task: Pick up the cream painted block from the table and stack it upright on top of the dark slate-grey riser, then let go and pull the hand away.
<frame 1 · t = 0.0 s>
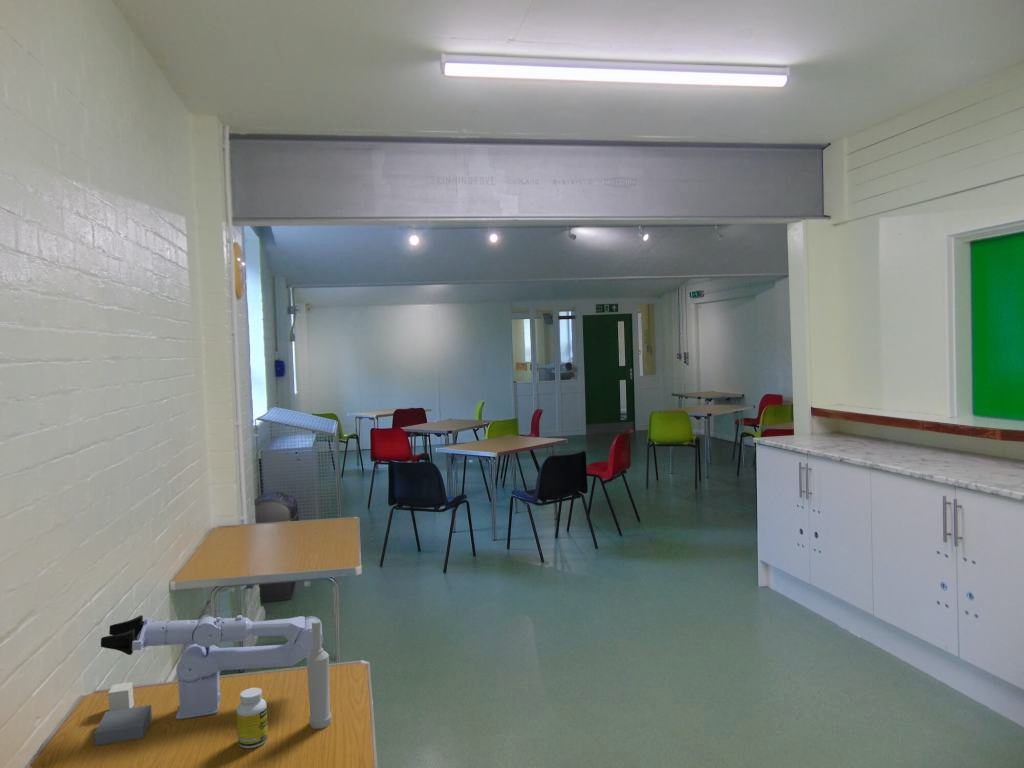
hand: (105, 636, 172), 22 cm above the table, tool horizontal, fingers open, 7 cm apart
cream block: (121, 710, 180), on the table
riser: (124, 730, 170), on the table
pill bottle: (253, 742, 164), on the table
bottle: (320, 724, 171), on the table
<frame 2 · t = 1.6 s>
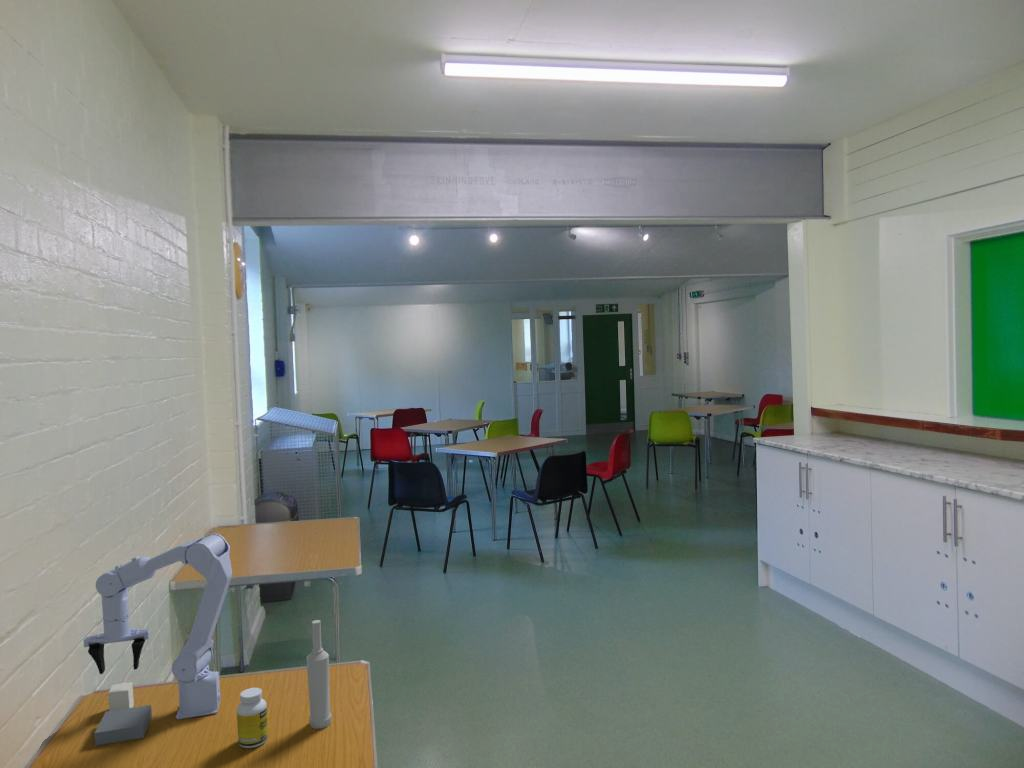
hand: (119, 670, 179), 10 cm above the table, tool pointing down, fingers open, 7 cm apart
nothing on the table moved.
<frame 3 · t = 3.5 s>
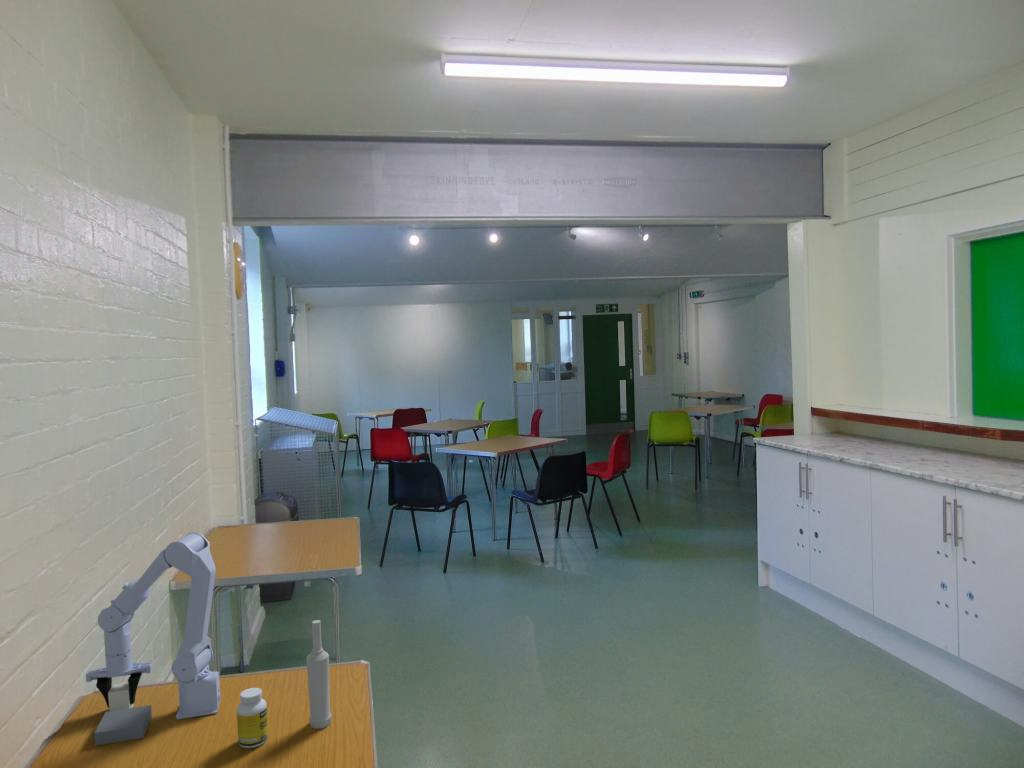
hand: (121, 704, 180), 2 cm above the table, tool pointing down, fingers closed on cream block, 4 cm apart
cream block: (121, 710, 180), on the table, touching gripper
everything else where it was.
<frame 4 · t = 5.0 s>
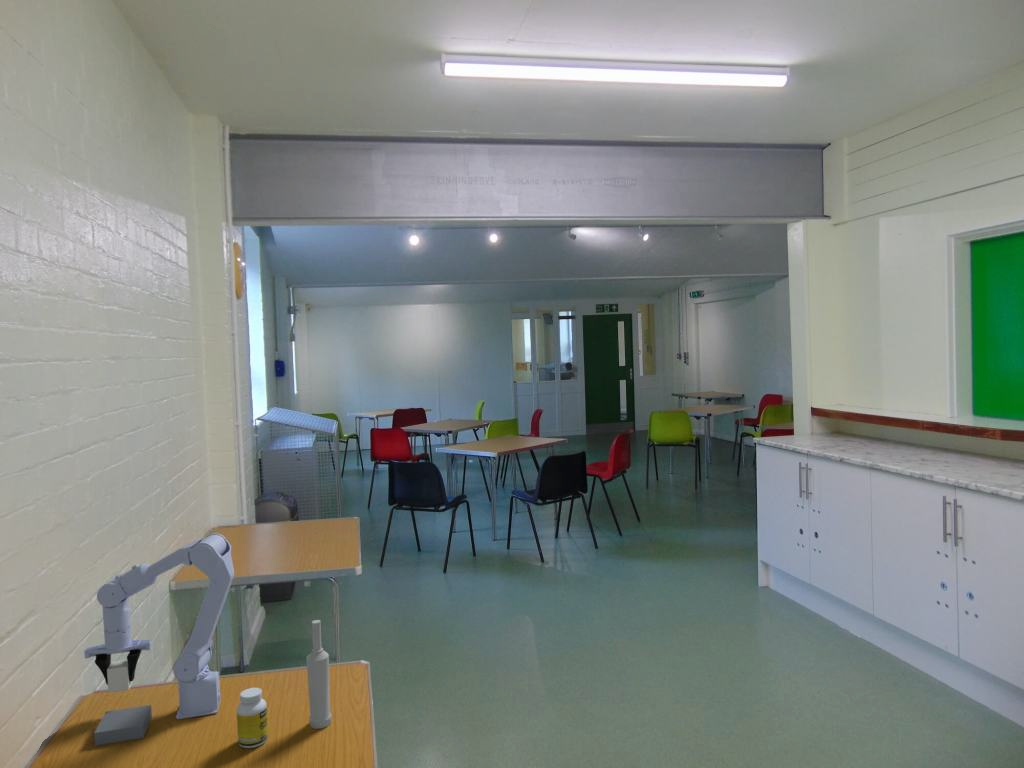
hand: (120, 681, 177), 8 cm above the table, tool pointing down, fingers closed on cream block, 4 cm apart
cream block: (121, 687, 178), point 7 cm above the table, touching gripper
everything else where it was.
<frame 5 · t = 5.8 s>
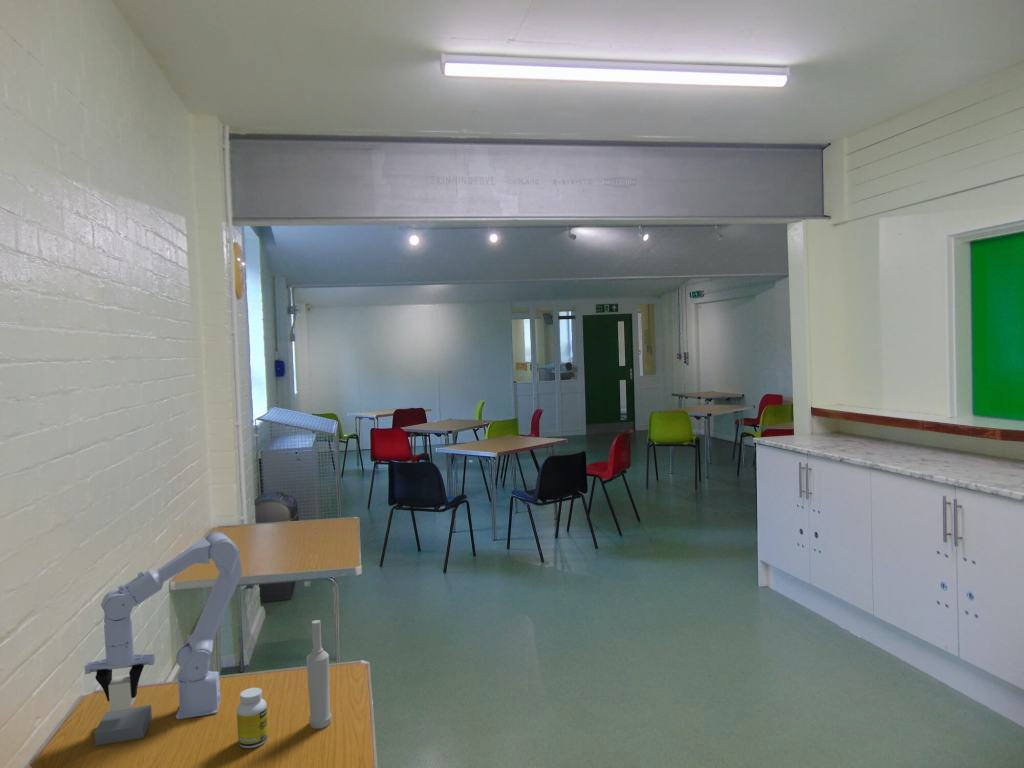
hand: (122, 697, 169), 8 cm above the table, tool pointing down, fingers closed on cream block, 4 cm apart
cream block: (122, 704, 170), point 6 cm above the table, touching gripper
everything else where it was.
when the fingers open (6 cm above the table, at t = 6.6 s): cream block drops 1 cm, resting on riser.
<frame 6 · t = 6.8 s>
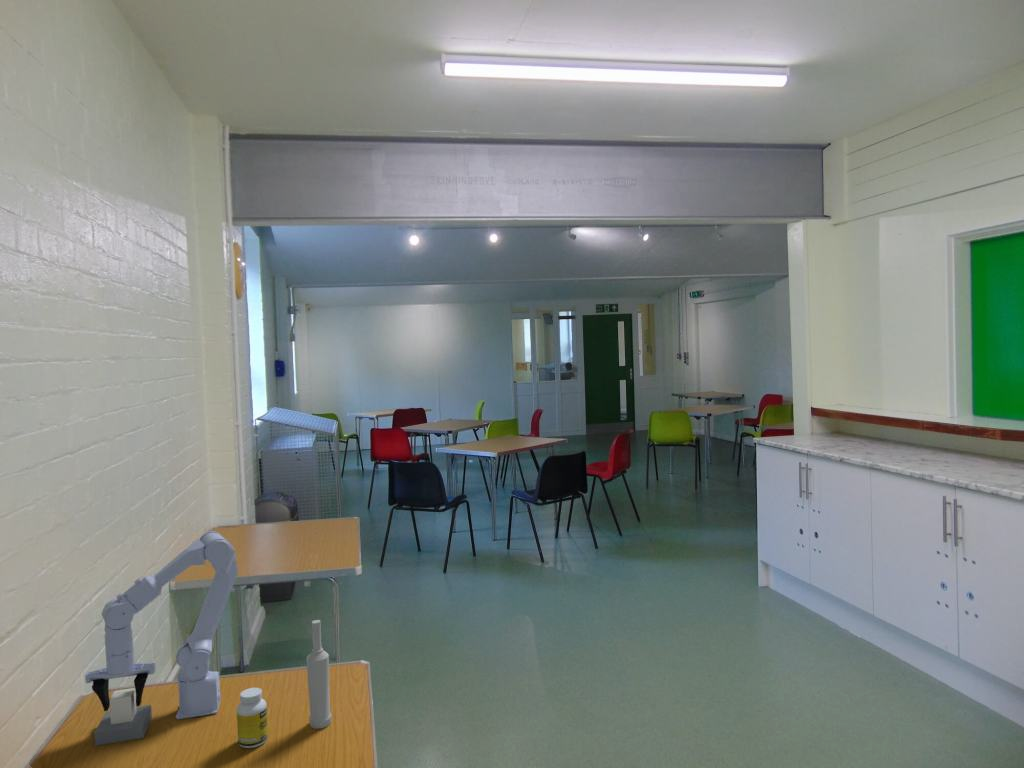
hand: (123, 706, 170), 6 cm above the table, tool pointing down, fingers open, 6 cm apart
cream block: (123, 718, 170), point 3 cm above the table, touching riser
everything else where it was.
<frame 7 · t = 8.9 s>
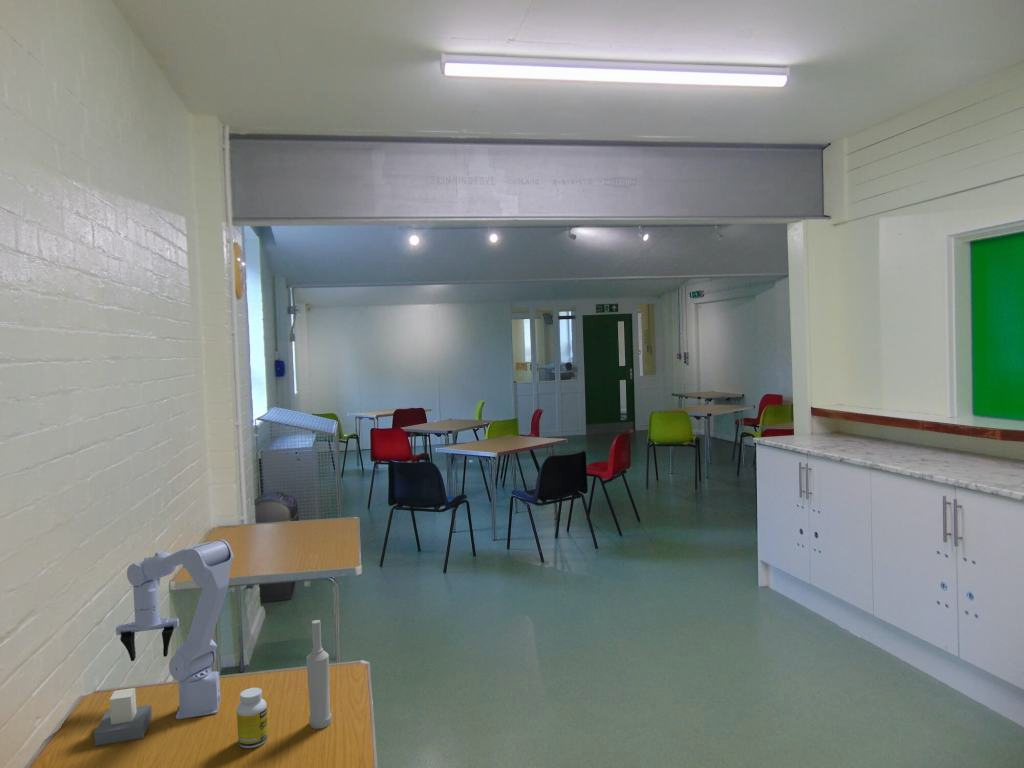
hand: (149, 657, 186), 10 cm above the table, tool pointing down, fingers open, 7 cm apart
nothing on the table moved.
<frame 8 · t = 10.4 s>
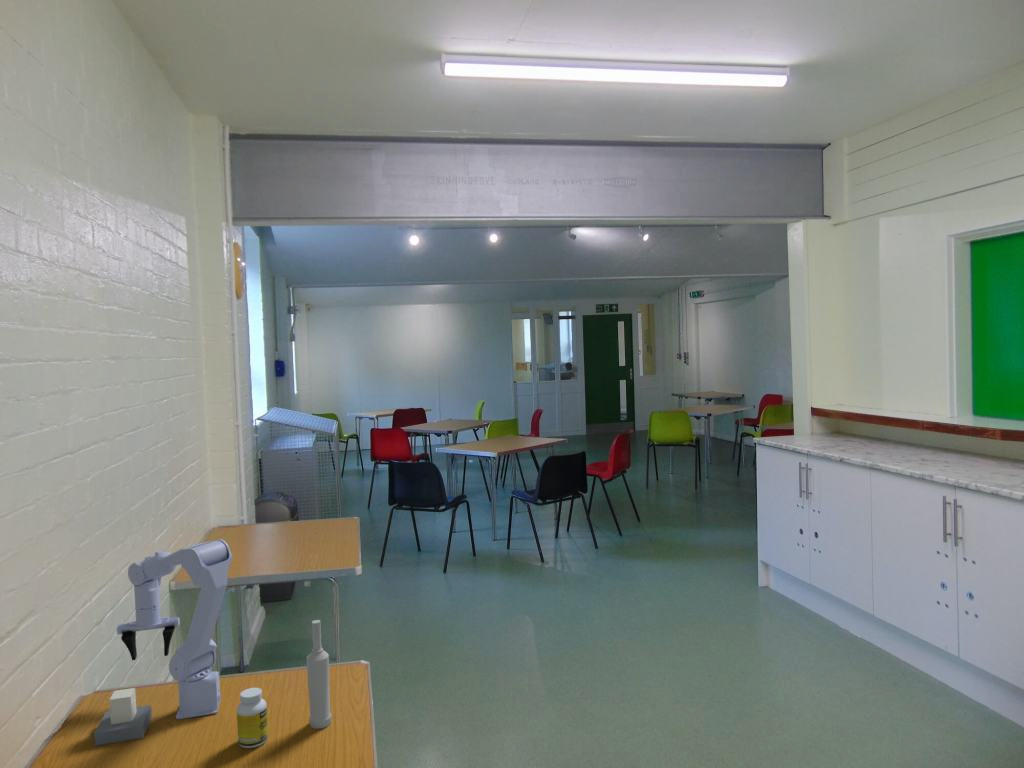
hand: (150, 656, 186), 10 cm above the table, tool pointing down, fingers open, 7 cm apart
nothing on the table moved.
at the end: cream block 0.2 cm off-centre on the riser, point 3.0 cm above the riser's base; cream block tilted 0°; the gripper is holding nothing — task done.
